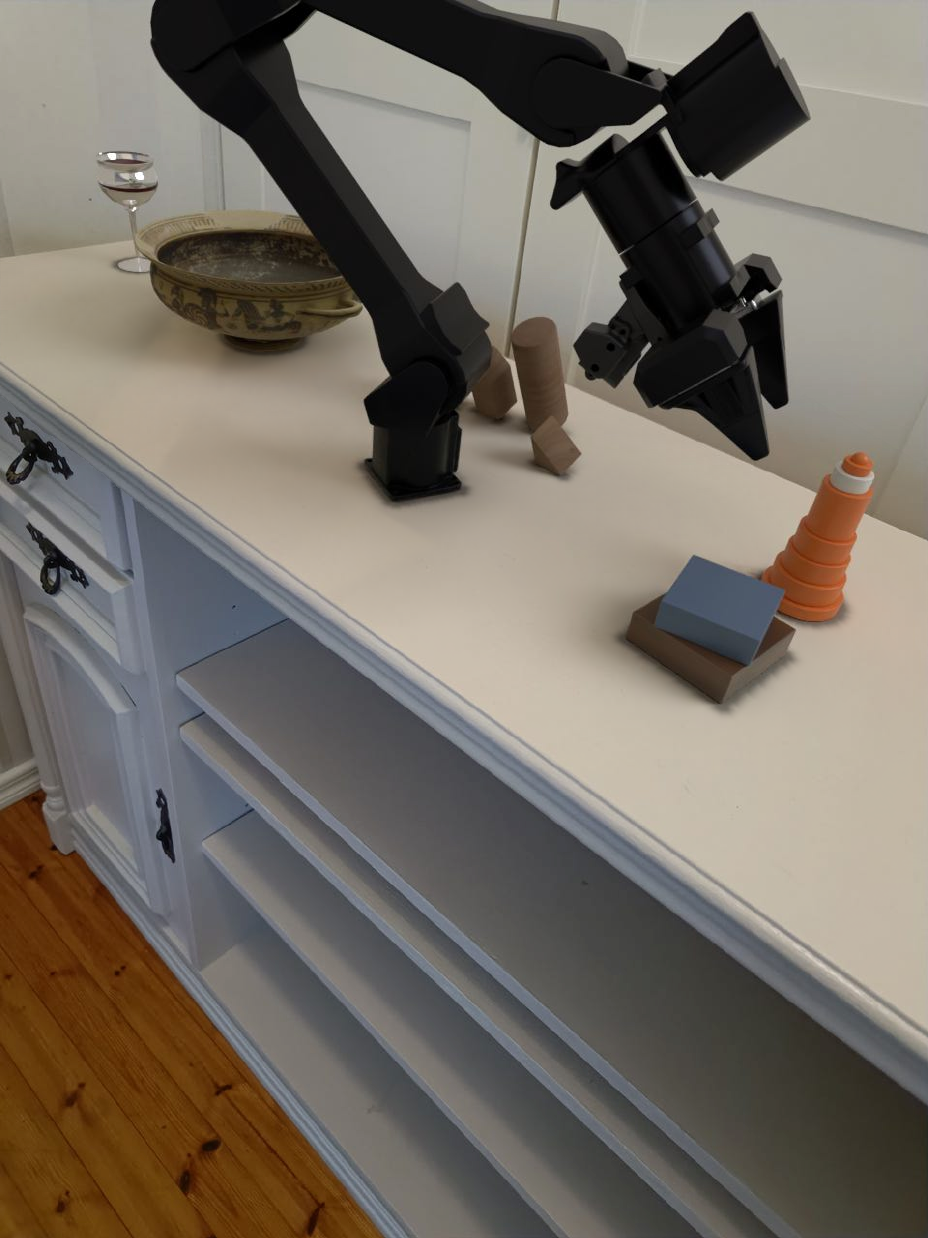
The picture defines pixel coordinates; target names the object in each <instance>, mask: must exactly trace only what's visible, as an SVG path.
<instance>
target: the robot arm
mask: <svg viewBox="0 0 928 1238" xmlns="http://www.w3.org/2000/svg"><path fill="white" fill-rule="evenodd" d="M317 12H319V13H321V14H323V15H325V16H328V17H329V18H332V19H334V20H336V21H339V22H341V23H342V24H344V25H347V26H349V27H351V28H353V29H354V30H355V29H356V30H358V31H360V32H362V33H364V34H366V35H368V36H371V37H373V38H375V39H377V40H379V41H381V42H383V43H386V44H388V45H390V46H392V47H394V48H397V49H399V50H401V51H403V52H405V53H407V54H409V55H412V56H413V57H416V58H418V59H420V60H423V61H425V62H427V63H429V64H431V65H433V66H435V67H438V68H440V69H442V70H444V71H446V72H448V73H450V74H453V75H455V76H458V77H459V78H462V79H463V80H465V81H466V82H467V83H468V84H470V85H471V86H473V87H475V88H476V89H477V90H478V91H479V92H480V93H481V94H482V95H483V96H484V97H485V98H486V99H487V100H488V101H489V102H490V103H491V104H492V105H493V106H494V107H495V108H496V109H497V110H498V111H499V112H500V113H501V114H502V115H504V116H505V117H506V118H508V119H509V120H511V121H512V122H513V123H515V124H516V125H518V126H519V127H520V128H522V129H523V130H525V131H526V132H528V134H529V135H532V136H533V137H535V138H536V139H537V140H538V141H540V142H542V143H543V144H546V145H548V146H551V147H555V148H570V147H575V146H577V145H579V144H581V143H582V142H585V141H587V140H590V139H591V138H592V137H594V136H595V135H597V134H599V133H600V132H601V131H603V130H604V129H606V128H607V127H624V126H632V125H634V124H636V123H637V122H639V121H640V120H641V119H642V118H644V117H646V116H647V115H648V114H649V113H651V111H653V110H655V109H656V108H657V107H658V106H662V107H663V109H664V110H665V112H666V113H665V114H664V115H663V116H662V117H660V118H659V119H657V121H655V122H654V123H653V124H652V125H651V126H649V127H648V128H646V129H645V130H644V131H643V132H641V133H640V134H639V135H638V136H636V137H635V138H634V139H632V140H631V141H628V140H627V139H626V138H625V137H624V136H622V135H621V134H619V133H612V134H611V135H610V136H609V137H607V138H606V139H605V140H604V141H603V142H601V143H600V144H599V145H598V146H596V147H595V148H593V150H591V151H590V152H589V153H588V154H586V155H585V156H584V157H583V158H582V159H580V160H575V159H572V158H569V157H568V158H565V159H562V160H559V161H557V162H556V164H555V181H554V185H553V189H552V194H551V197H550V200H549V206H550V208H551V209H552V210H554V211H558V210H560V209H561V208H564V207H565V206H567V205H569V204H570V203H573V202H574V201H575V200H576V199H578V198H579V197H580V196H582V195H583V197H584V199H585V200H586V202H587V203H588V205H589V207H590V208H591V210H592V212H593V213H594V215H595V217H596V219H597V220H598V222H599V224H600V225H601V227H602V229H603V230H604V232H605V234H606V236H607V238H608V239H609V241H610V243H611V244H612V246H613V248H614V249H615V251H616V254H617V255H618V257H619V259H620V260H621V262H622V263H623V265H624V267H625V268H626V269H625V270H624V271H623V272H622V273H621V274H619V276H618V278H619V279H620V280H619V281H618V285H619V289H620V290H621V291H622V293H623V294H624V296H625V298H626V300H625V301H624V302H623V303H622V305H621V306H620V307H619V309H618V310H617V311H616V313H615V314H614V315H613V316H612V317H611V318H610V320H609V321H608V323H607V324H604V323H600V322H595V321H592V322H590V323H589V324H588V325H587V326H586V327H585V328H584V329H583V330H582V332H581V333H580V335H579V336H578V337H577V339H576V340H575V341H574V343H573V344H572V347H573V349H574V351H575V353H576V355H577V358H578V359H579V361H578V363H577V364H578V365H579V366H580V367H581V368H582V369H583V370H584V377H585V378H586V380H588V381H596V380H603V381H604V382H605V383H606V384H608V385H609V386H610V387H611V388H613V389H616V388H617V387H618V386H619V385H620V384H621V382H622V381H623V380H624V378H625V377H626V376H627V375H628V374H629V372H630V371H631V370H632V369H633V368H634V366H635V365H636V368H635V373H634V377H633V381H632V384H633V386H634V388H635V390H636V391H637V392H638V394H639V396H640V397H641V399H642V401H643V402H644V404H645V405H646V407H647V409H651V408H655V407H658V408H660V409H661V410H665V411H670V410H672V409H680V410H686V411H687V410H688V411H692V412H696V413H697V414H698V415H700V416H701V417H702V418H703V419H705V420H706V421H707V422H709V424H711V425H712V426H714V427H715V429H717V430H718V431H719V432H720V433H721V434H722V435H723V436H725V437H726V438H727V439H728V440H729V441H730V442H732V443H733V445H735V446H736V447H737V448H738V449H739V450H740V451H741V452H742V453H744V455H746V456H747V457H748V458H749V459H750V460H751V461H752V462H753V461H754V462H759V461H760V460H762V459H764V458H767V457H768V456H769V455H770V453H771V450H770V442H769V437H768V436H769V435H768V429H767V423H766V422H767V421H766V418H765V417H766V415H765V410H764V405H763V400H762V397H763V398H764V399H765V401H766V402H768V404H769V406H771V408H772V409H774V410H778V409H781V408H784V407H785V406H787V405H788V404H789V402H790V397H789V395H790V394H789V382H788V369H787V368H788V367H787V355H786V343H785V342H786V341H785V340H786V339H785V323H784V307H783V298H784V293H783V290H782V289H779V286H780V285H781V283H782V282H783V278H782V275H781V274H780V272H779V270H778V268H777V267H776V265H775V263H774V261H773V259H772V257H771V256H768V255H762V254H758V253H754V252H752V253H750V254H749V255H747V256H746V257H744V258H743V259H741V260H739V261H738V262H736V263H734V262H733V261H732V259H731V257H730V255H729V253H728V252H727V250H726V247H725V246H724V244H723V243H722V241H721V239H720V238H719V236H718V235H719V234H718V233H717V231H716V230H715V228H716V227H717V226H718V225H719V224H720V223H721V222H720V219H719V218H718V215H717V213H716V211H715V210H714V208H713V207H711V208H710V209H709V210H707V211H705V209H704V208H703V206H702V205H701V203H700V201H699V199H697V198H698V197H697V195H696V194H695V192H694V190H693V188H692V186H691V184H690V183H689V180H688V179H687V177H686V175H685V174H684V172H683V170H682V168H681V166H680V165H679V163H678V161H677V159H676V157H675V155H674V153H673V152H672V149H671V148H670V146H669V144H668V143H667V141H666V139H665V137H664V136H663V134H662V132H664V131H665V130H666V131H667V133H668V135H669V137H670V139H671V141H672V143H673V146H674V148H675V150H676V151H677V154H678V155H679V157H680V159H681V160H682V162H683V163H684V165H685V166H686V168H687V170H688V171H689V172H690V173H691V174H692V176H694V177H695V178H696V179H699V178H701V177H703V178H705V177H707V176H708V175H710V174H712V175H713V176H714V177H715V178H716V179H717V180H718V181H719V182H724V181H725V180H727V179H728V178H730V177H732V175H734V174H735V173H737V172H738V171H740V170H742V168H744V167H746V166H747V165H748V164H749V163H751V162H752V161H754V160H755V159H757V158H758V157H759V156H762V154H764V153H765V152H767V151H768V150H769V149H771V148H772V147H774V146H775V145H777V144H778V143H779V142H780V141H782V140H784V139H785V138H786V137H788V136H789V135H791V134H792V133H793V132H795V131H796V130H798V129H800V128H801V127H802V126H803V125H805V124H806V123H808V122H809V121H810V120H811V117H812V116H811V114H810V113H811V112H810V111H809V107H808V105H807V103H806V101H805V98H804V95H803V93H802V91H801V88H800V87H799V84H798V82H797V80H796V78H795V76H794V74H793V72H792V70H791V68H790V65H789V64H788V62H787V60H786V58H785V57H782V58H780V56H779V54H778V52H777V50H776V49H775V47H774V45H773V43H772V42H771V40H770V38H769V37H768V35H767V33H766V32H765V31H764V29H763V28H762V26H761V24H760V22H759V20H758V18H757V16H756V14H755V12H754V11H751V10H748V11H747V10H746V11H745V12H744V13H743V14H741V15H740V16H738V18H736V19H735V20H734V21H732V23H730V24H729V25H728V26H727V27H726V28H725V29H724V30H723V32H722V33H721V34H720V35H719V36H718V38H716V40H715V41H713V43H712V44H710V45H709V46H708V47H707V48H706V49H705V50H703V51H702V52H701V53H700V54H698V55H697V56H696V57H694V58H693V59H692V60H691V61H689V62H688V63H687V64H686V65H685V66H684V67H682V68H681V69H680V70H679V71H678V72H676V73H675V74H671V73H668V72H666V71H663V70H662V69H661V67H658V68H653V67H650V66H646V65H644V64H642V63H639V62H635V61H632V60H630V59H627V57H626V53H625V50H624V48H623V46H622V45H621V43H620V42H619V41H618V40H617V38H615V37H614V36H612V35H611V34H610V33H608V32H607V31H605V30H603V29H602V30H601V29H599V28H594V27H589V26H586V25H585V26H584V25H580V24H577V23H576V24H575V23H571V22H566V21H562V20H557V19H551V18H546V17H539V16H533V15H527V14H522V13H516V12H511V11H506V10H503V9H498V8H495V7H494V6H492V5H490V4H487V3H485V2H483V1H480V0H154V2H153V4H152V7H151V14H150V21H149V24H150V25H149V26H150V36H151V38H150V40H149V45H150V47H151V50H152V53H153V55H154V58H155V60H156V61H157V63H158V65H159V67H160V68H161V69H162V71H163V72H164V73H165V75H166V76H167V77H168V78H169V79H170V80H171V81H172V82H173V84H174V85H176V86H177V88H178V89H180V90H181V92H182V93H184V95H185V96H186V97H187V98H188V99H189V100H190V101H191V102H192V103H193V105H195V106H196V107H197V109H199V110H200V111H201V112H202V113H203V114H205V115H206V116H208V117H210V118H211V119H213V120H214V121H215V122H217V123H218V124H220V125H222V126H223V127H225V128H226V129H228V130H229V131H230V132H232V133H233V134H235V135H236V136H238V137H239V138H240V139H242V140H243V141H244V142H245V143H246V144H247V145H248V147H249V148H250V150H251V151H252V153H254V155H255V156H256V158H257V159H258V160H259V162H260V163H261V165H262V166H263V167H264V170H266V172H267V173H268V175H269V176H270V177H271V179H272V180H273V181H274V183H275V184H276V186H277V187H278V188H279V190H280V191H281V192H282V194H283V195H284V197H285V198H286V200H287V202H288V203H289V204H290V205H291V206H292V208H293V209H294V211H295V212H296V213H297V215H298V216H300V218H301V219H302V220H303V222H304V223H305V225H306V226H307V227H308V229H309V230H310V231H311V233H312V234H313V236H314V237H315V238H316V240H317V241H318V243H319V244H320V245H321V247H322V248H323V250H324V251H325V252H326V254H327V255H328V257H329V258H330V259H331V261H332V262H333V264H334V265H335V266H336V268H337V269H338V271H339V272H340V273H341V275H342V276H343V278H344V279H345V280H346V282H347V283H348V285H349V286H350V287H351V289H352V290H353V291H354V293H355V294H356V296H357V297H358V298H359V300H360V301H361V304H362V306H363V308H365V310H366V311H367V313H368V314H369V316H370V319H371V321H372V325H373V329H374V334H375V339H376V342H377V347H378V351H379V357H380V359H381V361H382V363H383V365H384V368H385V369H386V372H388V376H387V377H386V378H385V379H384V380H383V381H382V382H381V383H380V384H379V385H377V386H376V387H375V388H373V390H372V391H370V393H368V394H367V395H366V396H365V397H364V398H363V405H364V408H365V409H364V410H365V412H366V416H367V419H368V422H369V424H370V426H373V430H372V434H373V435H372V457H367V458H365V459H364V460H363V465H364V467H365V469H366V470H367V471H368V472H369V474H370V475H371V476H372V477H373V479H374V480H375V481H376V482H377V484H378V485H379V486H380V488H381V489H382V490H383V491H384V493H385V494H386V495H387V497H388V498H389V499H391V501H394V502H399V501H404V500H410V499H416V498H421V497H426V496H427V497H428V496H431V495H437V494H443V493H449V492H454V491H459V490H461V489H462V485H463V483H462V481H461V480H460V478H458V476H456V475H455V473H457V472H458V470H459V465H460V457H461V447H462V439H463V428H462V427H461V426H460V425H459V424H460V413H459V412H458V411H457V410H456V409H457V408H458V407H459V406H461V405H462V404H463V402H464V401H465V400H466V399H467V398H468V396H469V395H470V394H472V390H473V389H474V388H475V387H476V386H477V385H478V384H479V382H480V381H481V380H482V379H483V378H484V377H485V376H486V374H487V372H488V370H489V368H490V364H491V357H492V352H493V350H492V346H493V345H492V342H491V340H490V338H489V335H488V334H487V329H488V328H489V327H490V326H491V325H490V322H489V321H487V320H486V319H485V318H484V317H482V316H481V315H480V314H479V313H478V311H477V310H476V309H475V308H474V306H473V304H472V302H471V300H470V298H469V295H468V294H467V291H466V289H465V288H464V287H463V286H462V284H461V283H460V282H459V281H455V282H453V284H451V285H450V286H449V287H448V288H446V289H445V290H443V289H441V288H439V287H438V286H437V285H435V284H433V283H432V282H430V281H428V280H427V279H426V278H425V277H424V276H423V275H422V274H421V273H420V272H419V270H418V269H417V268H416V266H415V264H414V263H413V262H412V260H411V259H410V257H409V256H408V254H407V253H406V252H405V250H404V248H403V247H402V246H401V245H400V243H399V241H398V240H397V238H396V237H395V236H394V234H393V233H392V231H391V229H390V228H389V226H388V225H387V224H386V222H385V221H384V219H383V218H382V216H381V214H380V213H379V212H378V211H377V209H376V208H375V206H374V205H373V203H372V202H371V201H370V199H369V197H368V196H367V194H366V193H365V192H364V190H363V189H362V187H361V186H360V184H359V183H358V181H357V180H356V178H355V177H354V175H353V174H352V173H351V171H350V170H349V169H348V167H347V165H346V164H345V162H344V161H343V159H342V158H341V156H340V155H339V153H338V152H337V150H336V149H335V148H334V146H333V145H332V143H331V142H330V140H329V138H328V137H327V136H326V135H325V133H324V132H323V130H322V129H321V127H320V126H319V124H318V123H317V121H316V120H315V118H314V116H313V115H312V114H311V112H310V111H309V110H308V108H307V107H306V105H305V104H304V101H303V100H302V98H301V94H300V91H299V87H298V83H297V77H296V74H295V70H294V65H293V60H292V56H291V53H290V50H289V48H288V46H287V44H286V43H285V41H286V40H287V39H289V38H290V37H292V36H294V34H296V33H297V32H298V31H300V30H301V29H302V28H303V27H304V26H305V24H306V23H307V22H309V20H310V19H312V18H313V17H314V15H315V14H317ZM764 291H767V292H768V293H769V294H770V295H768V296H766V297H764V298H762V297H761V295H760V294H761V293H763V292H764ZM649 344H650V345H651V346H650V347H649V348H648V350H647V351H646V352H645V353H644V354H643V355H642V352H643V350H644V349H646V347H647V345H649Z"/></svg>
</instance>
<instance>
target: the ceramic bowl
mask: <svg viewBox="0 0 928 1238" xmlns="http://www.w3.org/2000/svg"><path fill="white" fill-rule="evenodd" d="M135 244H136V247H137V249H138V250H139V253H141V255H142V256H144V257H145V259H148V260H150V261H151V263H150V271H149V279H150V283H151V286H152V290H153V292H154V293H155V294H156V296H157V297H158V299H159V300H160V301H161V302H162V304H164V306H165V307H166V308H168V309H169V310H171V312H173V313H174V314H176V315H177V316H179V317H181V318H182V319H184V320H186V321H187V322H190V323H192V324H194V325H196V326H198V327H201V328H204V329H207V330H209V331H212V332H215V333H218V334H222V335H223V337H224V339H225V340H226V342H228V343H229V344H230V345H232V346H234V347H237V348H240V349H242V350H249V351H254V352H256V351H257V352H277V351H282V350H288V349H290V348H293V347H295V346H297V345H298V344H299V343H300V342H301V340H302V338H303V337H306V336H311V335H315V334H318V333H322V332H324V331H326V330H327V331H328V330H329V329H332V328H335V327H336V326H338V325H340V324H342V323H343V322H345V321H347V320H348V319H351V318H355V317H357V316H359V315H360V314H361V313H362V312H363V310H364V305H363V304H362V303H361V301H360V300H359V298H358V297H357V296H356V294H355V293H354V291H353V290H352V289H351V287H350V286H349V285H348V283H347V282H346V280H345V279H344V278H343V276H342V275H341V273H340V272H339V271H338V269H337V268H336V266H335V265H334V264H333V262H332V261H331V259H330V258H329V257H328V255H327V254H326V252H325V251H324V250H323V248H322V247H321V245H320V244H319V243H318V241H317V240H316V238H315V237H314V236H313V234H312V233H311V231H310V230H309V229H308V227H307V226H306V225H305V223H304V222H303V220H302V219H301V218H300V216H299V215H298V214H292V213H284V212H278V211H272V210H261V209H221V210H209V211H203V212H195V213H189V214H182V215H175V216H170V217H166V218H162V219H159V220H156V221H152V222H150V223H149V224H147V225H145V226H143V227H142V228H140V229H139V230H137V234H136V235H135Z"/></svg>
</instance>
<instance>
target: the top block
mask: <svg viewBox="0 0 928 1238" xmlns="http://www.w3.org/2000/svg"><path fill="white" fill-rule="evenodd" d="M666 592H667V593H666ZM666 592H665V593H666V595H665V596H664V598H663V599H662V601H661V603H660V606H659V609H658V613H657V616H656V619H655V622H654V626H655V627H657V628H659V629H662V630H664V631H666V632H669V633H671V634H673V635H676V636H678V637H681V638H683V639H685V640H688V641H690V642H692V643H695V644H697V645H699V646H702V647H704V648H707V649H709V650H711V651H714V652H716V653H718V654H721V655H723V656H725V657H728V658H730V659H733V660H735V661H737V662H740V663H742V664H744V665H747V666H750V664H751V662H752V660H753V658H754V656H755V654H756V652H757V650H758V648H759V646H760V644H761V642H762V640H763V638H764V636H765V634H766V632H767V630H768V628H769V626H770V624H771V622H772V620H773V618H774V616H775V617H776V614H777V613H778V612H777V611H778V610H777V609H778V607H779V605H780V602H781V600H782V598H783V595H784V593H785V590H784V589H781V588H779V587H776V586H773V585H771V584H768V583H766V582H763V581H761V579H759V578H758V579H757V578H755V577H752V576H750V575H747V574H744V573H742V572H740V571H737V570H734V569H732V568H730V567H727V566H724V565H721V564H719V563H716V562H714V561H711V560H709V559H706V558H703V557H701V556H698V555H696V554H693V555H692V556H691V557H690V559H689V560H688V562H687V563H686V564H685V566H684V568H683V569H681V571H680V573H679V574H678V576H677V577H676V579H675V580H674V582H673V583H672V585H671V586H670V587H669V589H668V590H667V591H666Z"/></svg>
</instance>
